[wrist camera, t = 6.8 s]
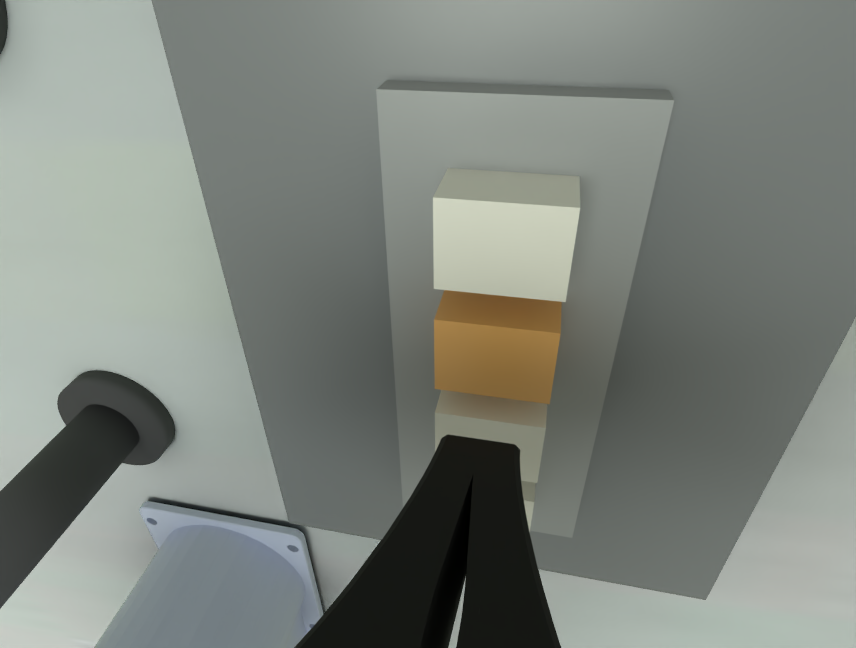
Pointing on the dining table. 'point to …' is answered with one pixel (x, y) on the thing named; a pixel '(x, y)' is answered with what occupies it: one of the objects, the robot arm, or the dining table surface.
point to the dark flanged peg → (3, 24)
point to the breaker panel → (691, 279)
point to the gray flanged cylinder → (77, 466)
